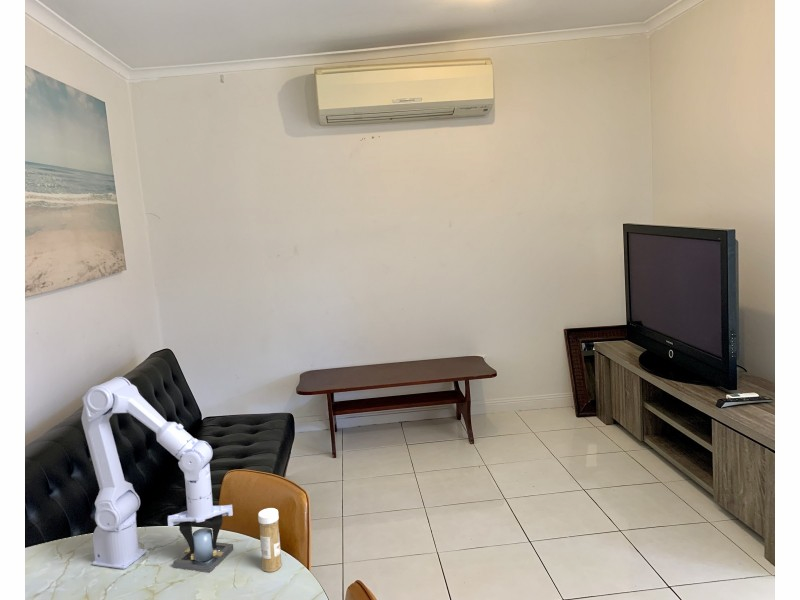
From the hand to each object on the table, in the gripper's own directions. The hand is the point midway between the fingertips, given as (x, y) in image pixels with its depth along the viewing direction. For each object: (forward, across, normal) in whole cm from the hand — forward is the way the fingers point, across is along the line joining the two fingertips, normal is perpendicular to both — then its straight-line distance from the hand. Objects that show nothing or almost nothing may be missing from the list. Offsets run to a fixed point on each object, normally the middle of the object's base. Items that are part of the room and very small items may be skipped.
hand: (203, 548), depth 135 cm
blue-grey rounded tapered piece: (+2, 0, 0) cm, 2 cm away
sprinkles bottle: (+3, +15, -10) cm, 18 cm away
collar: (+3, 0, 0) cm, 3 cm away
